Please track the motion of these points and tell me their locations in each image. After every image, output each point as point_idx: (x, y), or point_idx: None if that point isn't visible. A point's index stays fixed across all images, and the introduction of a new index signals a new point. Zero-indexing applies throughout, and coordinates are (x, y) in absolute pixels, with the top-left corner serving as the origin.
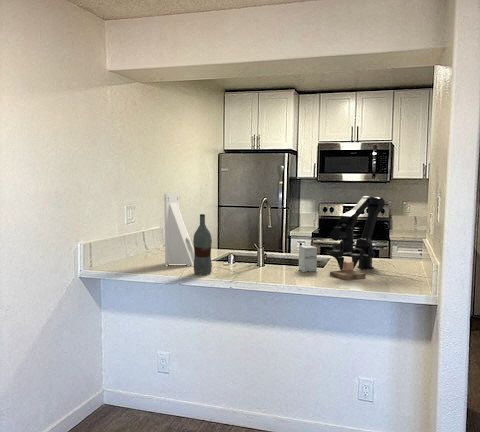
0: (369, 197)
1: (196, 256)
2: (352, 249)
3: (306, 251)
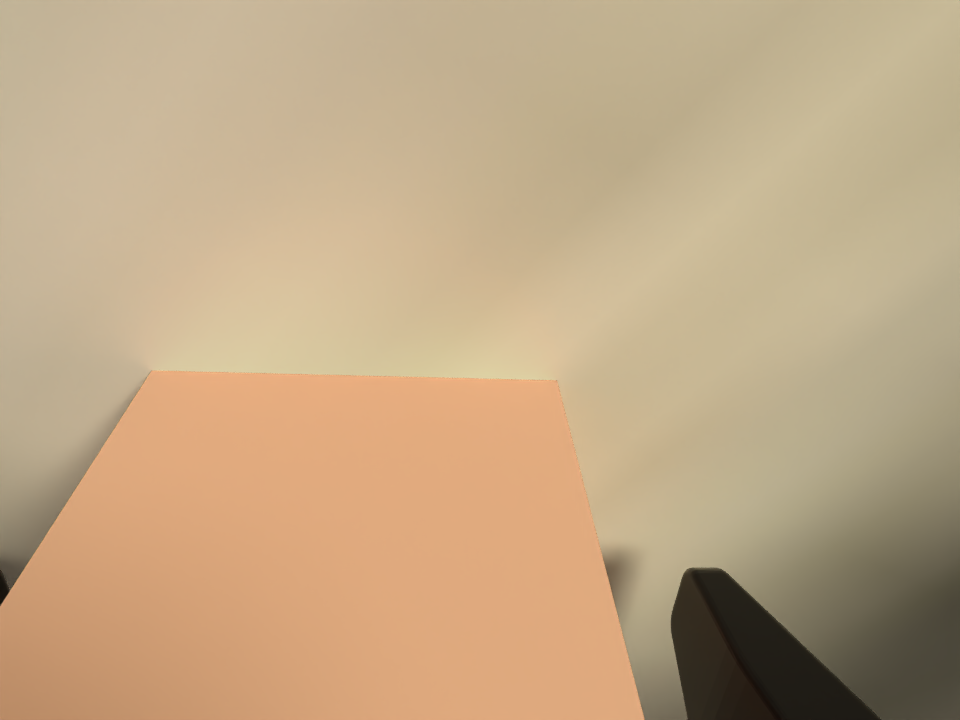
0: None
1: None
2: None
3: None
